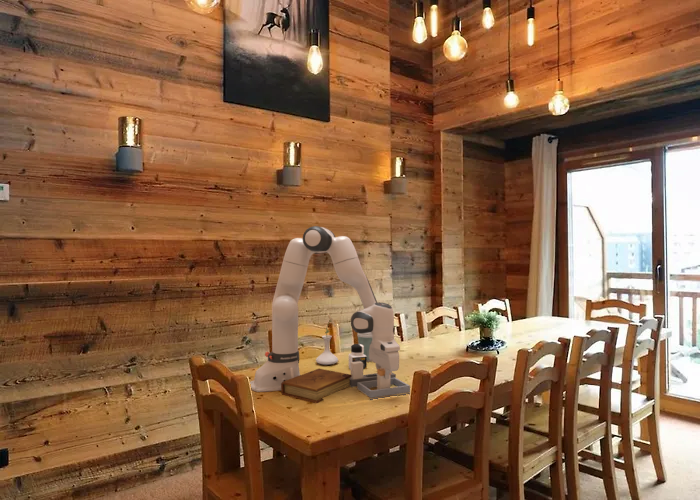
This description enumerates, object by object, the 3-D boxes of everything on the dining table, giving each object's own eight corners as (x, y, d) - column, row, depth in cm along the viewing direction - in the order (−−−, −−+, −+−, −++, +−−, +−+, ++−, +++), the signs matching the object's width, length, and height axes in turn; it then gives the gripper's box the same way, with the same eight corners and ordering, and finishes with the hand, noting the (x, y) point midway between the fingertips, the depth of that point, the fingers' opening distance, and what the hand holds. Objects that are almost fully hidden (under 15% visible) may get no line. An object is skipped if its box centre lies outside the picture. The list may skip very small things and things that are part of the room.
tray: (370, 400, 189) (370, 391, 189) (357, 391, 201) (357, 382, 200) (409, 394, 196) (409, 385, 196) (394, 385, 208) (394, 377, 207)
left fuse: (353, 385, 206) (353, 363, 205) (350, 383, 208) (350, 362, 208) (363, 383, 207) (363, 362, 207) (360, 381, 210) (360, 361, 210)
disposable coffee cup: (353, 361, 249) (353, 332, 249) (362, 356, 259) (362, 328, 258) (372, 363, 244) (372, 333, 244) (381, 358, 254) (381, 330, 253)
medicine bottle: (352, 372, 229) (352, 346, 229) (348, 368, 236) (348, 343, 236) (366, 370, 231) (366, 345, 231) (362, 367, 238) (362, 342, 238)
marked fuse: (380, 393, 196) (380, 371, 195) (377, 390, 199) (377, 369, 198) (390, 391, 198) (390, 369, 197) (386, 389, 200) (387, 367, 200)
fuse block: (351, 389, 203) (351, 381, 203) (345, 384, 209) (344, 376, 209) (397, 382, 212) (397, 374, 212) (390, 378, 218) (390, 370, 218)
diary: (317, 381, 216) (317, 368, 216) (351, 388, 205) (351, 374, 205) (281, 395, 197) (281, 380, 197) (316, 403, 186) (316, 388, 186)
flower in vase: (335, 367, 238) (335, 316, 238) (313, 365, 241) (312, 315, 240) (341, 360, 251) (341, 312, 250) (319, 359, 253) (319, 311, 253)
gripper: (365, 338, 206) (365, 371, 206) (387, 348, 187) (387, 384, 188) (378, 337, 209) (378, 369, 209) (402, 347, 190) (402, 382, 190)
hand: (383, 376), depth 198 cm, fingers open, 4 cm apart
